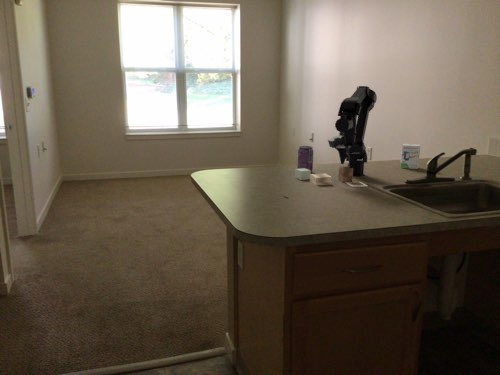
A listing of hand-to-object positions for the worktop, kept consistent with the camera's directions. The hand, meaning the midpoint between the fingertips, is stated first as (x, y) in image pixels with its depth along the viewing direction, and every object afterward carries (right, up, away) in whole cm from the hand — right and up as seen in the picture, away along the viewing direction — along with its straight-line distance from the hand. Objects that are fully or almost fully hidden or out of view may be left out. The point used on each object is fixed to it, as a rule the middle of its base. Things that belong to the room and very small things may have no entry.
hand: (346, 166), depth 192 cm
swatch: (+3, -8, -5) cm, 10 cm away
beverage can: (-16, -2, +18) cm, 24 cm away
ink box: (+39, +1, +33) cm, 50 cm away
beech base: (-12, -8, -3) cm, 14 cm away
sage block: (-18, -5, +6) cm, 20 cm away
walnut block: (0, -6, +2) cm, 7 cm away
